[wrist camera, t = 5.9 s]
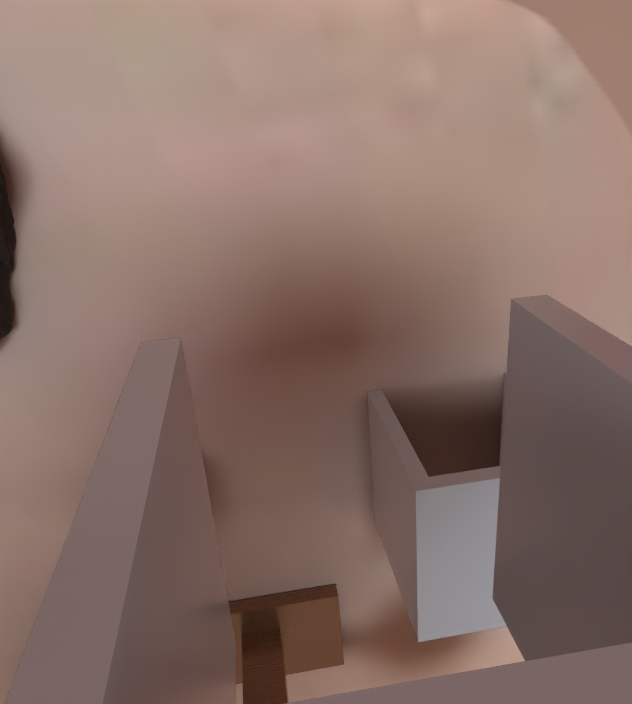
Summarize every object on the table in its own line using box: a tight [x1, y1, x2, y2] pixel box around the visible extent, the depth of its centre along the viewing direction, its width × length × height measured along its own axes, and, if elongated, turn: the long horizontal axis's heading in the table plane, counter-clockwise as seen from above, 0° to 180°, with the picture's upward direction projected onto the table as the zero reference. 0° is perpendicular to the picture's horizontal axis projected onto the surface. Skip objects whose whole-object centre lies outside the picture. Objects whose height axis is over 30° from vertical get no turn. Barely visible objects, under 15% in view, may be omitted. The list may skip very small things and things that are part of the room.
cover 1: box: [5, 295, 632, 704], centre depth 10 cm, size 9×9×9 cm
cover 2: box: [368, 373, 507, 642], centre depth 30 cm, size 9×9×9 cm
